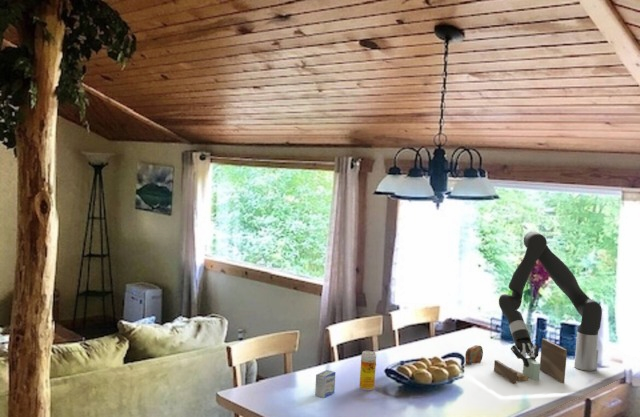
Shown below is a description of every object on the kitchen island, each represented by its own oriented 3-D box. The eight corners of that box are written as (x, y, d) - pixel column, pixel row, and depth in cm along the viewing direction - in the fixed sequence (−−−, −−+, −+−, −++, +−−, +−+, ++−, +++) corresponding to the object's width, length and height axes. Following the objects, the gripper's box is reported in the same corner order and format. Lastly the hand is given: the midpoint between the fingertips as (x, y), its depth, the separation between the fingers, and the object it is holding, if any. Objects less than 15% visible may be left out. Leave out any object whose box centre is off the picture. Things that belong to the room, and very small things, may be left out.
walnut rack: (542, 372, 312) (545, 338, 311) (564, 385, 294) (567, 349, 293) (493, 373, 306) (496, 338, 305) (512, 386, 289) (515, 349, 288)
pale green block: (528, 375, 305) (529, 357, 305) (539, 381, 297) (540, 364, 296) (522, 375, 305) (523, 358, 304) (532, 381, 296) (534, 364, 295)
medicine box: (324, 398, 261) (325, 376, 260) (314, 395, 263) (315, 374, 262) (334, 393, 267) (336, 371, 267) (325, 390, 270) (326, 369, 269)
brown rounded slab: (469, 368, 312) (470, 350, 312) (463, 366, 314) (464, 348, 314) (482, 361, 324) (484, 344, 324) (476, 360, 326) (478, 343, 326)
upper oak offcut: (510, 372, 305) (510, 367, 305) (527, 380, 294) (528, 376, 294) (501, 372, 303) (501, 368, 303) (518, 381, 292) (518, 376, 292)
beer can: (364, 391, 271) (366, 355, 270) (356, 386, 276) (358, 351, 275) (377, 390, 274) (379, 354, 273) (369, 385, 279) (371, 349, 278)
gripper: (509, 328, 307) (520, 362, 296) (536, 328, 310) (549, 362, 299) (502, 336, 313) (513, 370, 302) (530, 336, 316) (541, 370, 305)
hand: (531, 366), depth 301 cm, fingers closed on pale green block, 3 cm apart
